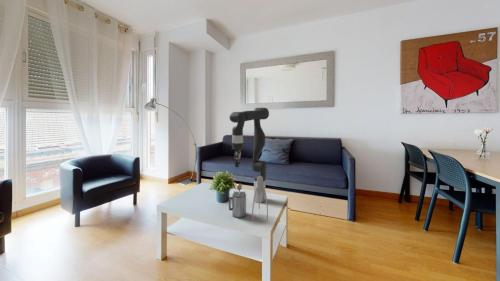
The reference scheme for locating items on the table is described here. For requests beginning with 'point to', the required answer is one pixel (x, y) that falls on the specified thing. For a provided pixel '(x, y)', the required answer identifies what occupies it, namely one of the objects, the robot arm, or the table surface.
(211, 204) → the table surface
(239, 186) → the plunger
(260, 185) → the juicer
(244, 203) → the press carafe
